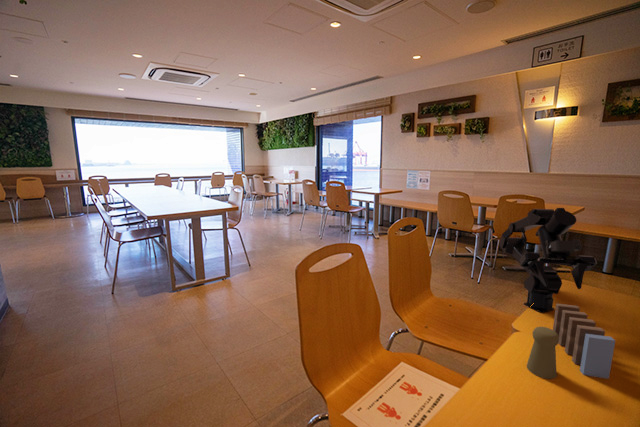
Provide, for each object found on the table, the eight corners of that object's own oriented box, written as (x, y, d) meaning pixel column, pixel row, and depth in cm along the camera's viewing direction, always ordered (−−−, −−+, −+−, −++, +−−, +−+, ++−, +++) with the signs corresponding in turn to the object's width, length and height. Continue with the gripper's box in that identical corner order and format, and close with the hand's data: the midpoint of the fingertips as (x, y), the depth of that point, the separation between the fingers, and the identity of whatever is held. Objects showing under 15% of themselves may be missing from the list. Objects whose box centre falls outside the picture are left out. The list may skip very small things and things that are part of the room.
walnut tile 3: (564, 351, 82) (569, 317, 80) (586, 354, 81) (592, 319, 79) (567, 354, 81) (572, 320, 79) (590, 357, 79) (595, 322, 77)
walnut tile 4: (571, 360, 78) (577, 324, 77) (595, 363, 77) (601, 327, 75) (575, 364, 77) (580, 328, 75) (599, 367, 75) (605, 331, 74)
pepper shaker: (551, 365, 77) (556, 325, 75) (560, 381, 71) (566, 339, 69) (523, 360, 79) (527, 321, 77) (530, 376, 73) (535, 334, 71)
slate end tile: (579, 370, 75) (585, 333, 73) (604, 374, 73) (611, 336, 71) (583, 374, 73) (589, 337, 71) (608, 378, 72) (615, 340, 70)
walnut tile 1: (552, 334, 90) (556, 303, 88) (572, 337, 88) (576, 305, 86) (554, 337, 88) (558, 306, 86) (575, 340, 87) (579, 308, 85)
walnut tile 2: (558, 342, 86) (562, 310, 84) (579, 345, 84) (584, 312, 83) (560, 345, 84) (565, 312, 83) (582, 348, 83) (587, 315, 81)
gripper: (526, 227, 95) (536, 273, 87) (598, 230, 90) (616, 279, 82) (515, 244, 104) (523, 287, 96) (580, 248, 99) (595, 294, 90)
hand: (562, 287), depth 91 cm, fingers open, 8 cm apart
